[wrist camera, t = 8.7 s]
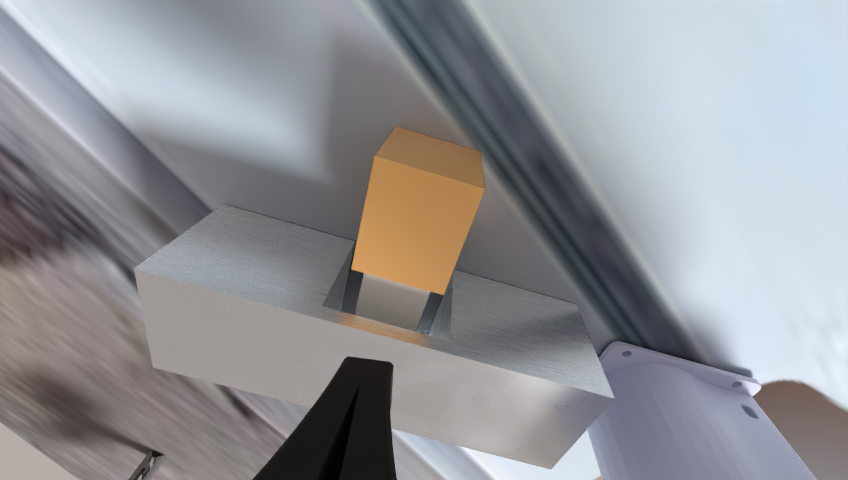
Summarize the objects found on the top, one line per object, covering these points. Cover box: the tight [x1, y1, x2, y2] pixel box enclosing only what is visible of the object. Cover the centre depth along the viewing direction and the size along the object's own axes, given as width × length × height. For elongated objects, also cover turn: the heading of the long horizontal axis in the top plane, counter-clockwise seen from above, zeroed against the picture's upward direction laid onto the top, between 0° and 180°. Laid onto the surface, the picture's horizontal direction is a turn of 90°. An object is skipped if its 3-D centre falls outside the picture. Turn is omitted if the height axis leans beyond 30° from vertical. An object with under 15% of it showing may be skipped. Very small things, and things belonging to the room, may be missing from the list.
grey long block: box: [134, 204, 615, 469], centre depth 18 cm, size 20×6×6 cm, turn 75°
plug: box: [351, 126, 485, 332], centre depth 18 cm, size 4×14×4 cm, turn 165°
